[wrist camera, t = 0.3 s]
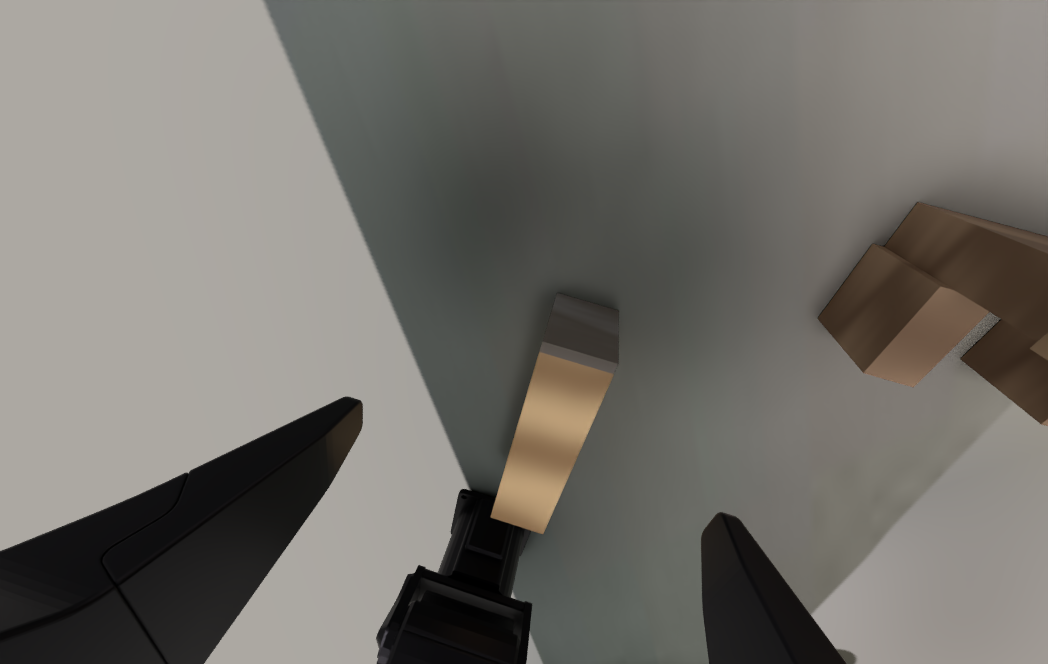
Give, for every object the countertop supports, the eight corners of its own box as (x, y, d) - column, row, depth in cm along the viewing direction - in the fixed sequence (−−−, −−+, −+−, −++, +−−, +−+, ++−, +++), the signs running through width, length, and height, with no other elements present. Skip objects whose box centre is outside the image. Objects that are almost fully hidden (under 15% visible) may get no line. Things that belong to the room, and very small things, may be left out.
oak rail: (553, 471, 30) (543, 534, 26) (508, 456, 30) (490, 517, 26) (618, 310, 22) (618, 363, 18) (556, 292, 22) (542, 341, 18)
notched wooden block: (1002, 370, 20) (1233, 544, 12) (817, 318, 20) (932, 454, 13) (1135, 253, 16) (1567, 396, 9) (909, 194, 17) (1139, 281, 9)
